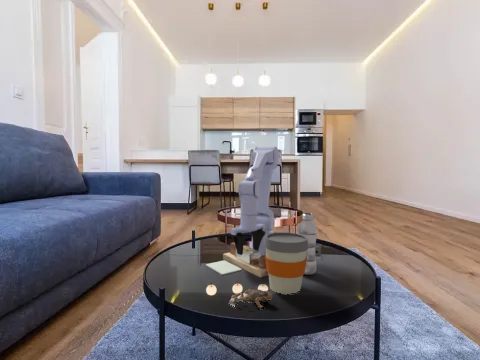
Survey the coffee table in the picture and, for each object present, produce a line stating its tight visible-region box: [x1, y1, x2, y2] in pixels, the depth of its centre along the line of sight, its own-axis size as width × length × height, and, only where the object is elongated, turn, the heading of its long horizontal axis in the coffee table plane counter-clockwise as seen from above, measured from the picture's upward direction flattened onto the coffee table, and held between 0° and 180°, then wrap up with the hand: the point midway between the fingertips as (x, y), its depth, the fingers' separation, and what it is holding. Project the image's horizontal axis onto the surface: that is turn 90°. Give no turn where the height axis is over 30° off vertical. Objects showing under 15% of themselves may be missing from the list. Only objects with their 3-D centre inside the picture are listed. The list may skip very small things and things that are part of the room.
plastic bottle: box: [297, 212, 318, 276], centre depth 96 cm, size 6×7×20 cm
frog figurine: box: [228, 287, 274, 308], centre depth 76 cm, size 12×12×4 cm
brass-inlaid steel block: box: [236, 245, 262, 265], centre depth 103 cm, size 5×8×4 cm, turn 36°
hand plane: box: [222, 241, 269, 278], centre depth 103 cm, size 7×22×6 cm, turn 36°
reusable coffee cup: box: [264, 231, 308, 295], centre depth 84 cm, size 13×13×15 cm
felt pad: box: [205, 259, 243, 276], centre depth 100 cm, size 8×11×1 cm
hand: (248, 252), depth 103 cm, fingers open, 7 cm apart
